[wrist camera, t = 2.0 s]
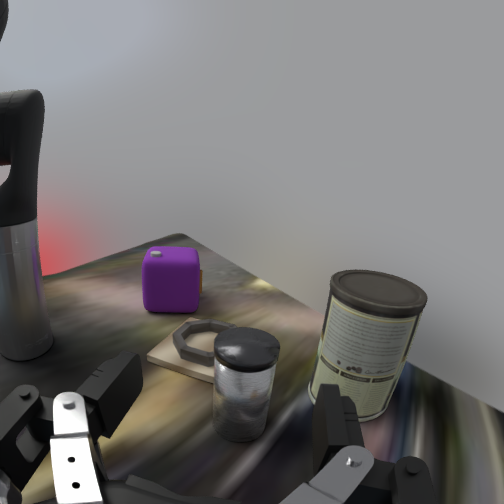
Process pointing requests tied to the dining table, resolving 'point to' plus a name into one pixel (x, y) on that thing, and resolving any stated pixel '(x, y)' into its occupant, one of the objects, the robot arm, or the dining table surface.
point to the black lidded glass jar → (243, 382)
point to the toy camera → (171, 279)
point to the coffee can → (366, 337)
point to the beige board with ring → (190, 348)
